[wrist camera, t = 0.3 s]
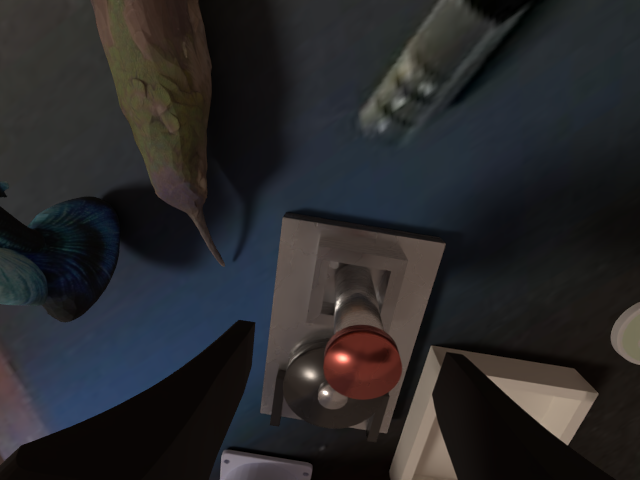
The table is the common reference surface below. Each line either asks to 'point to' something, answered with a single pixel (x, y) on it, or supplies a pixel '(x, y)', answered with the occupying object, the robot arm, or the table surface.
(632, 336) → the sign
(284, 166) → the table surface
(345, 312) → the pin
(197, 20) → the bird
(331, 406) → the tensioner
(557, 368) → the tray
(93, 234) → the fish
